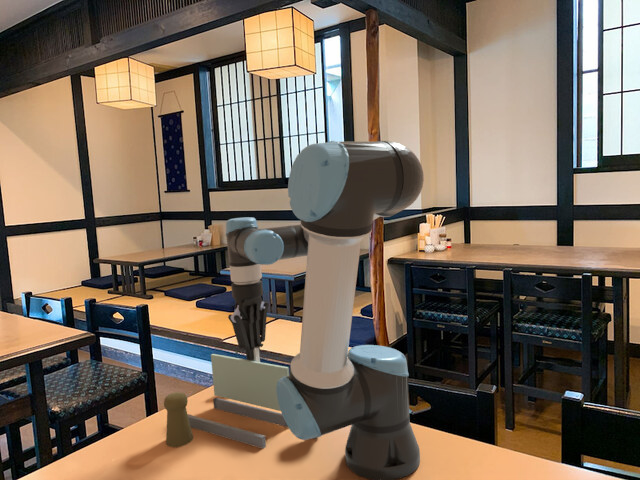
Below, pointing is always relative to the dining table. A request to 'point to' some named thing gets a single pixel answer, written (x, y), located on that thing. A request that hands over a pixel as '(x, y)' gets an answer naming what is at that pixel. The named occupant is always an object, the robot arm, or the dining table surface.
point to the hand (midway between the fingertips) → (255, 372)
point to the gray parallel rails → (235, 432)
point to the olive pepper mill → (177, 420)
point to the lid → (247, 380)
